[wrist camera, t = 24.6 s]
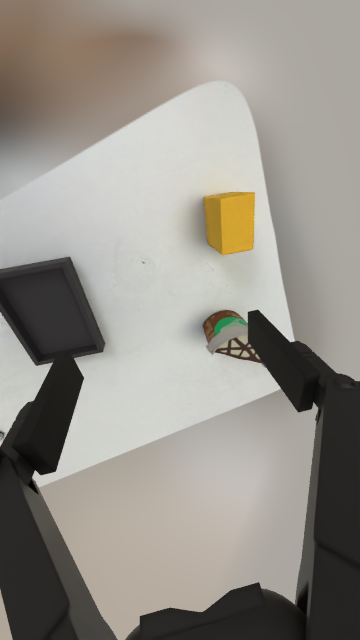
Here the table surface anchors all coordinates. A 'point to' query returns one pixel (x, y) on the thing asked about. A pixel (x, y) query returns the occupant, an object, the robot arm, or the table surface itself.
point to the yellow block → (230, 221)
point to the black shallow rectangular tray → (49, 310)
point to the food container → (229, 336)
